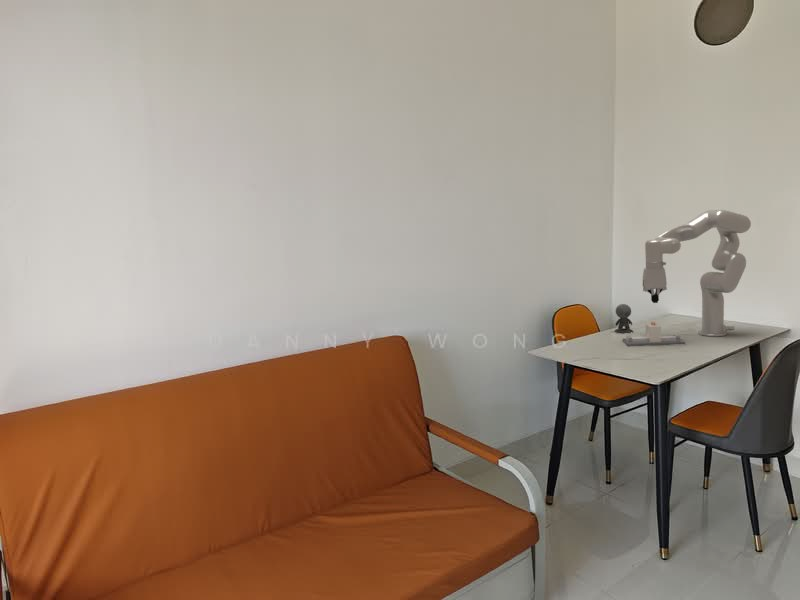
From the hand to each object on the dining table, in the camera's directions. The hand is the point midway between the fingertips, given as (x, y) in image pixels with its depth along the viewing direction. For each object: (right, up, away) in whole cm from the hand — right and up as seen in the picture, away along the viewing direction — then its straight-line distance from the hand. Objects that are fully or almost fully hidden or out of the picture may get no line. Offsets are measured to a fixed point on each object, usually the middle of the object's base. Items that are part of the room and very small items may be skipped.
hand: (655, 302), depth 270 cm
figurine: (-4, -16, +28) cm, 33 cm away
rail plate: (0, -20, +1) cm, 20 cm away
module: (0, -19, +1) cm, 19 cm away
